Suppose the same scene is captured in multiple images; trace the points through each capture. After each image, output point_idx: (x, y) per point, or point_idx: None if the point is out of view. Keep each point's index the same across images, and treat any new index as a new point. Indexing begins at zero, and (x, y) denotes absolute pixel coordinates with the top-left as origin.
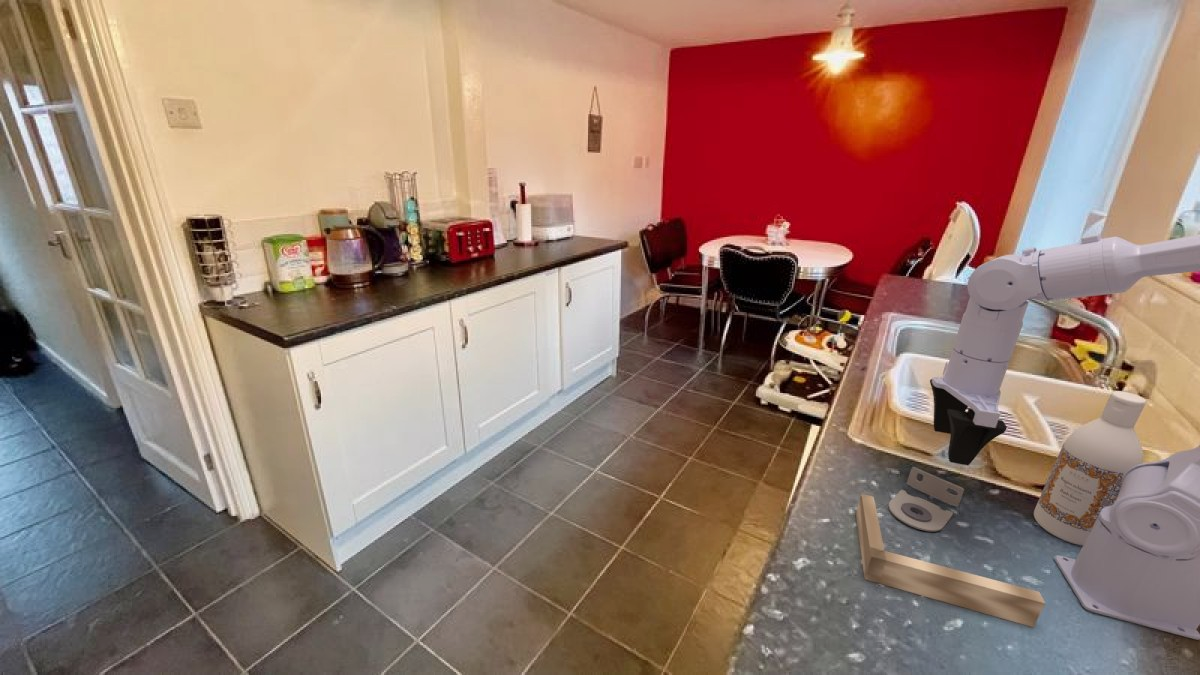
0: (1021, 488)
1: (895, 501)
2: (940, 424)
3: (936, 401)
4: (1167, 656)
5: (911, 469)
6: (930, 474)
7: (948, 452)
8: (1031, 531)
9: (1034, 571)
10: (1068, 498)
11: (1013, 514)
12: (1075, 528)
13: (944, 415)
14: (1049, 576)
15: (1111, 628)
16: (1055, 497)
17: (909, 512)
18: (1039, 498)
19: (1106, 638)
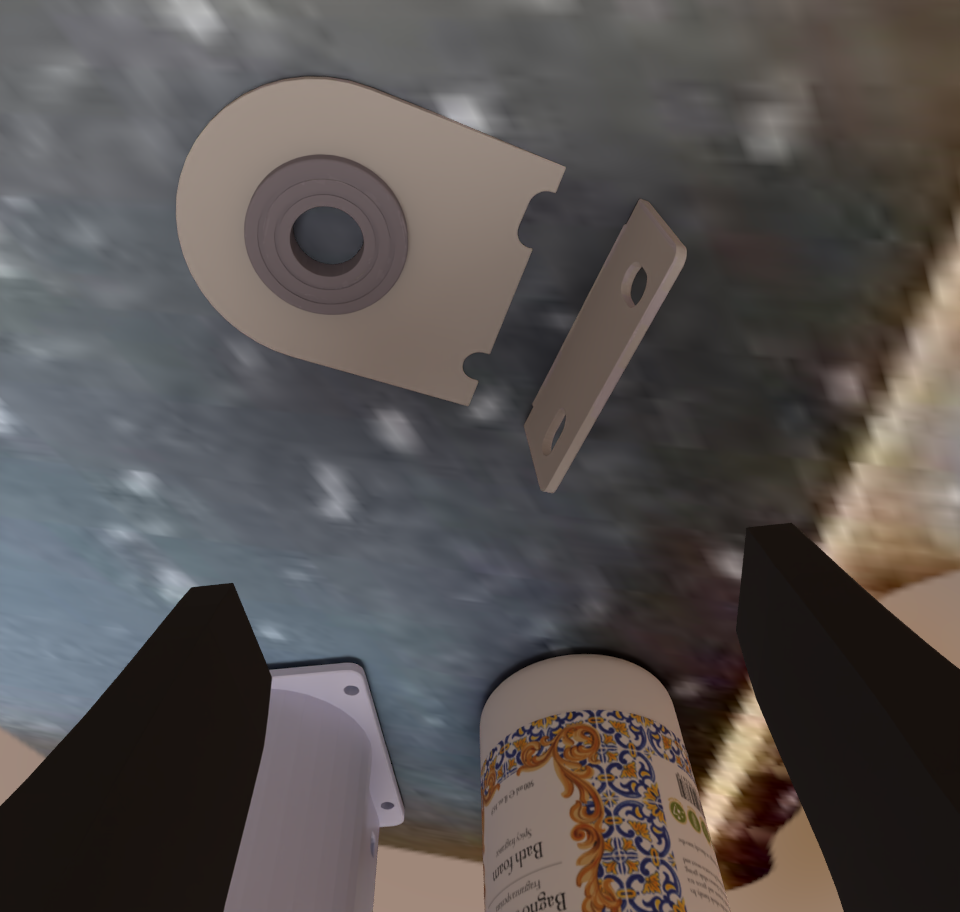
0: None
1: (384, 123)
2: (777, 612)
3: (949, 807)
4: None
5: (673, 243)
6: (629, 353)
7: (194, 626)
8: (494, 630)
9: None
10: (512, 844)
11: (584, 600)
12: (483, 764)
13: (828, 716)
14: None
15: None
16: (543, 799)
17: (280, 202)
18: (625, 719)
19: (49, 695)
